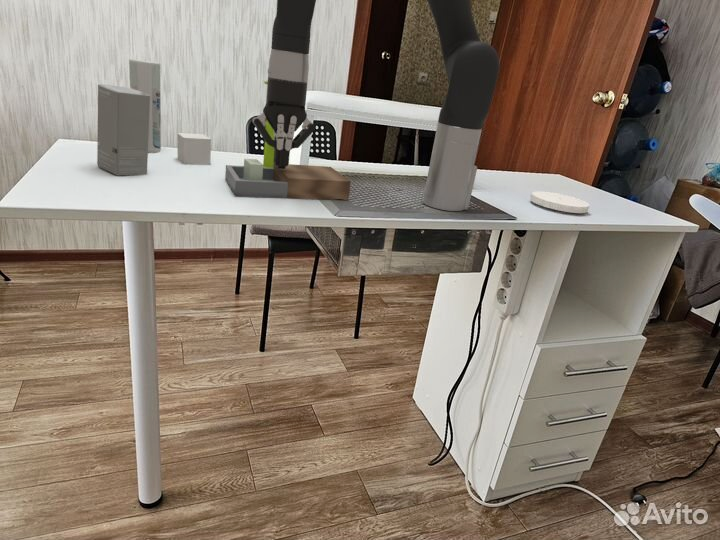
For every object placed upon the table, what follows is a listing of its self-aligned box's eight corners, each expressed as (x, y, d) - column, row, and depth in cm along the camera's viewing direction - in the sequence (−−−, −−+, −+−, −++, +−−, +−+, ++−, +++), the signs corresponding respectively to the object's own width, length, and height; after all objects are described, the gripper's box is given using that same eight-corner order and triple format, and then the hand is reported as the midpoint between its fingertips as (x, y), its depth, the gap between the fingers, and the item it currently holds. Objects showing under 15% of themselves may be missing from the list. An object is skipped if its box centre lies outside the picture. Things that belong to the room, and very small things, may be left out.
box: (272, 181, 109) (273, 167, 108) (286, 198, 98) (288, 183, 97) (225, 179, 105) (225, 165, 104) (234, 196, 94) (235, 180, 93)
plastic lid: (517, 199, 129) (520, 190, 128) (559, 201, 135) (562, 192, 134) (554, 216, 118) (557, 206, 117) (598, 217, 123) (602, 207, 122)
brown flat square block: (328, 184, 114) (330, 166, 113) (348, 200, 103) (350, 181, 102) (272, 181, 109) (273, 163, 108) (286, 198, 98) (288, 178, 97)
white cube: (210, 165, 116) (211, 139, 113) (183, 165, 113) (183, 137, 110) (203, 159, 120) (203, 134, 118) (177, 158, 117) (177, 132, 115)
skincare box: (96, 167, 100) (91, 83, 94) (131, 165, 105) (128, 85, 99) (117, 177, 95) (113, 89, 89) (152, 174, 101) (151, 91, 95)
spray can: (132, 146, 122) (129, 58, 115) (161, 148, 125) (160, 62, 117) (131, 151, 117) (128, 59, 109) (161, 153, 119) (160, 63, 112)
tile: (256, 159, 101) (244, 158, 100) (263, 164, 97) (250, 164, 96) (255, 183, 103) (243, 183, 102) (261, 190, 99) (248, 189, 98)
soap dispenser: (256, 165, 122) (261, 78, 114) (283, 166, 125) (290, 82, 117) (262, 171, 117) (268, 80, 109) (290, 172, 120) (298, 84, 112)
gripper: (257, 74, 90) (251, 170, 96) (326, 83, 95) (317, 174, 101) (249, 71, 96) (244, 161, 103) (315, 80, 101) (306, 165, 108)
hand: (280, 167), depth 102 cm, fingers closed
